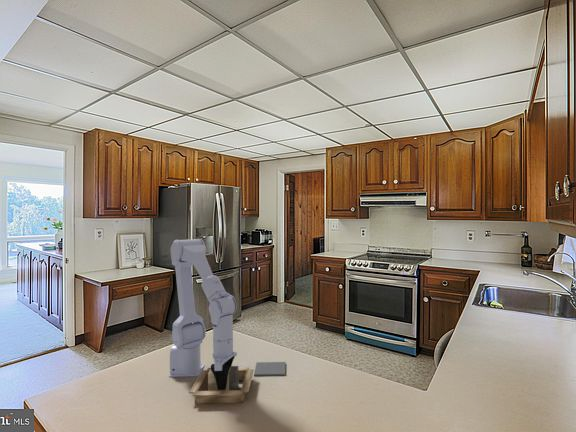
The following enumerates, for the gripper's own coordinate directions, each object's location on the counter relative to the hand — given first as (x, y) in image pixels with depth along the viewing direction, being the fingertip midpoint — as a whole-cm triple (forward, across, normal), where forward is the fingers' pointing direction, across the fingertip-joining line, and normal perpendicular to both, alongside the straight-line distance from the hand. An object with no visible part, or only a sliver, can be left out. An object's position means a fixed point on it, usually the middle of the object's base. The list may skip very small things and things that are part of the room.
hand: (223, 384), depth 94 cm
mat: (+2, +13, -13) cm, 18 cm away
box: (+2, 0, 0) cm, 2 cm away
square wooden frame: (+2, 0, 0) cm, 2 cm away
